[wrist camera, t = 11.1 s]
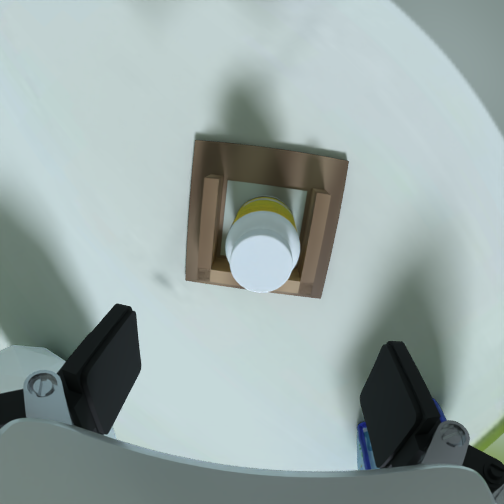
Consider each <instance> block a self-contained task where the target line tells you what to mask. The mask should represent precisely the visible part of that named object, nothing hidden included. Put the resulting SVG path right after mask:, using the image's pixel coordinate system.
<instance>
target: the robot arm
mask: <svg viewBox="0 0 504 504" xmlns="http://www.w3.org/2000/svg"><path fill="white" fill-rule="evenodd" d="M140 370H141V358H140V350H139V341H138V331H137V319H136V312H135V311H132V308H131V307H130V306H126V305H122V304H115V305H114V307H113V308H112V309H111V310H110V311H109V312H108V313H107V315H106V316H105V317H104V318H103V319H102V320H101V322H100V323H99V324H98V325H97V326H96V327H95V329H94V330H93V331H92V332H91V333H89V334H88V335H87V337H86V338H85V339H84V340H83V341H82V343H81V344H80V345H79V346H78V347H77V349H76V350H75V351H74V352H73V353H72V355H71V356H70V357H69V358H68V360H67V361H66V362H65V363H64V365H63V366H62V367H61V368H60V370H59V371H58V372H57V373H55V372H53V371H49V370H39V371H35V372H33V373H32V374H30V375H29V376H28V377H27V378H26V379H25V381H24V385H23V389H20V390H15V391H10V392H6V393H1V394H0V504H504V465H503V464H502V462H500V461H499V460H497V459H495V458H493V457H491V456H489V455H487V454H486V453H484V452H482V451H480V450H478V449H476V448H474V447H472V446H470V445H469V440H470V437H469V433H468V431H467V430H466V428H465V427H464V426H463V425H461V424H460V423H458V422H456V421H450V420H448V421H444V422H441V420H440V417H441V415H440V413H439V411H438V409H437V407H436V405H435V403H434V401H433V399H432V397H431V395H430V392H429V390H428V388H427V386H426V384H425V382H424V380H423V378H422V377H421V375H420V373H419V371H418V369H417V367H416V365H415V363H414V361H413V359H412V357H411V355H410V354H409V352H408V350H407V348H406V346H405V344H404V343H403V342H400V341H388V342H387V344H385V345H383V346H382V348H381V350H380V353H379V355H378V357H377V360H376V362H375V364H374V366H373V369H372V371H371V373H370V375H369V377H368V379H367V382H366V384H365V386H364V388H363V390H362V392H361V395H360V403H361V407H362V411H363V415H364V418H365V422H366V426H367V430H368V435H369V439H370V443H371V447H372V451H373V456H374V460H375V465H376V467H377V468H380V469H370V470H356V471H328V472H312V471H283V470H268V469H257V468H247V467H239V466H231V465H224V464H218V463H211V462H206V461H200V460H195V459H190V458H185V457H180V456H176V455H171V454H167V453H163V452H159V451H155V450H151V449H147V448H144V447H140V446H137V445H133V444H130V443H126V442H123V441H120V440H117V439H113V438H110V437H107V436H104V434H105V435H107V434H108V433H109V432H110V430H111V428H112V426H113V424H114V422H115V420H116V418H117V416H118V414H119V412H120V410H121V408H122V406H123V404H124V402H125V400H126V398H127V396H128V394H129V392H130V390H131V388H132V387H133V385H134V383H135V381H136V379H137V377H138V375H139V373H140Z"/></svg>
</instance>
